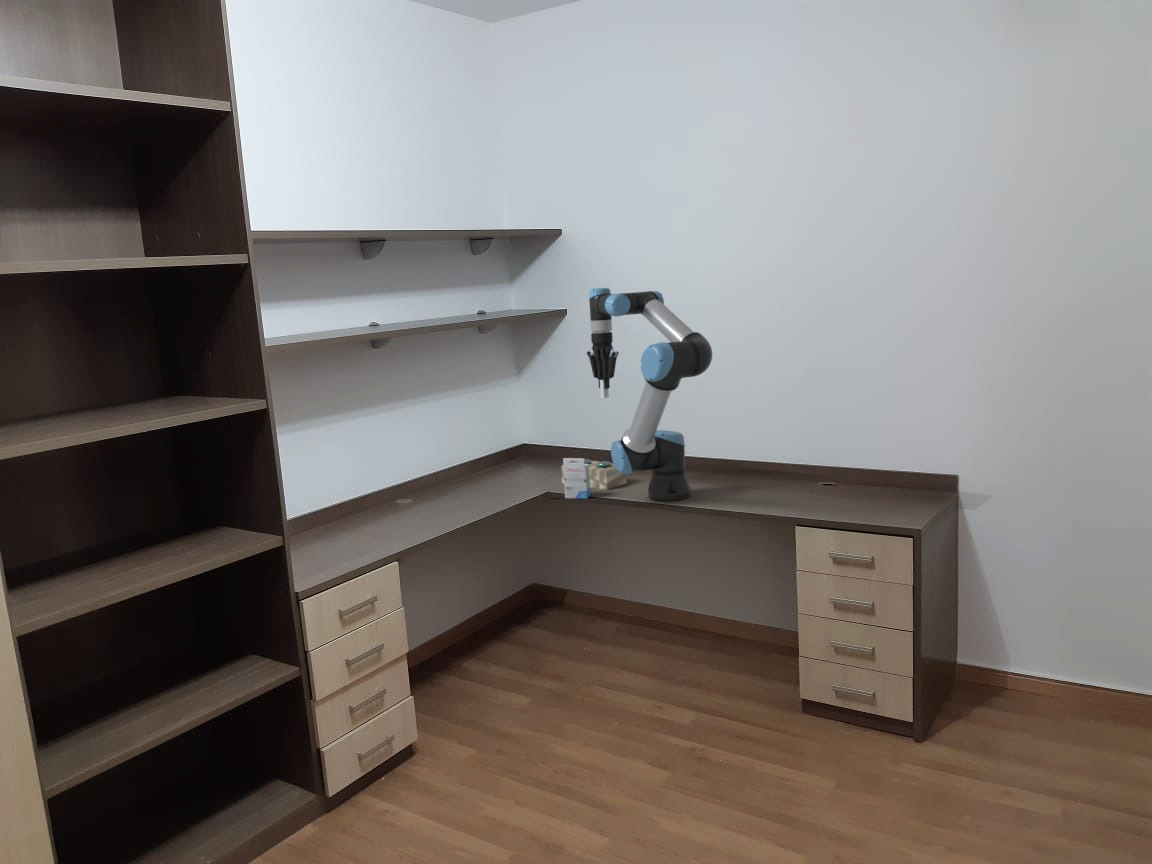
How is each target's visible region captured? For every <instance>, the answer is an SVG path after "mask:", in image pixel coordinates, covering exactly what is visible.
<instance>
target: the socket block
mask: <svg viewBox="0 0 1152 864" xmlns="http://www.w3.org/2000/svg"><path fill="white" fill-rule="evenodd" d="M597 462H599V461H598V460H590V462H589V463H588V464H589V474H590V489H598V490H605V491H608V490H612V489H614V488H617V487H620V486H623V485H626V484H627V483H628V481H627V480H628V479H627V478H628V477H627V474H622V473H620V472H619V471H618V470H617V469H616V467H615V466H614V463H613V462H610V465H609V467H608V468H598V466H597ZM570 463H576V461H570ZM560 468H561V469H560V470H561V484H564V473H563V464H561V465H560Z"/></svg>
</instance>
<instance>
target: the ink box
mask: <svg viewBox="0 0 1152 864" xmlns="http://www.w3.org/2000/svg"><path fill="white" fill-rule="evenodd" d="M584 459H585V458H584V457H580V458H579V457H578V458H577V457H576V458H575V457H568V458H567V457H564V458H562V460H563V461H562V465H563V473H564V483H563V485H564V498H565V499H585V500H586V499H588V498H590V497H591V495H592V493H591V492H592V491H591V487H590V474H589V464H585V460H584ZM574 461H577V462H578V463H571V462H574Z"/></svg>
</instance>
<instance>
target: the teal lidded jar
mask: <svg viewBox="0 0 1152 864" xmlns="http://www.w3.org/2000/svg"><path fill="white" fill-rule="evenodd" d="M584 460H585V464H588V463H589V462H590V461H591V459H589V458H584ZM576 463H578V462H577V461H576Z"/></svg>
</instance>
